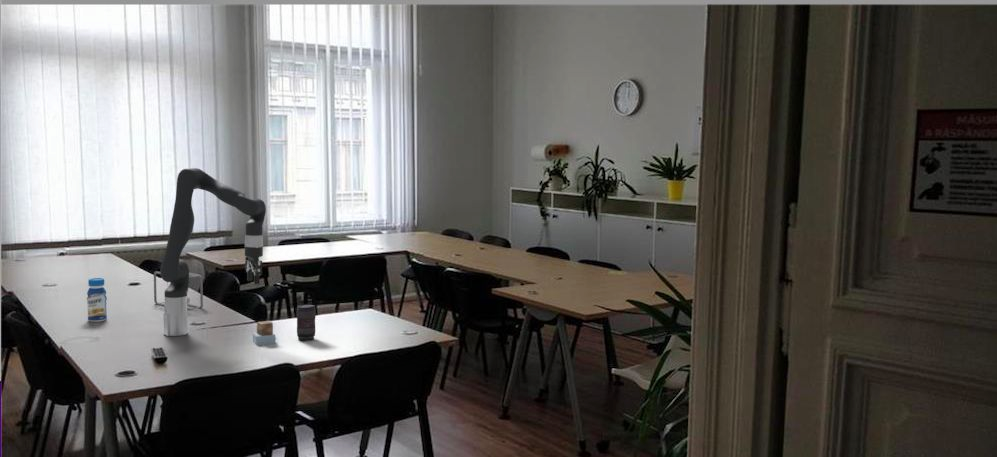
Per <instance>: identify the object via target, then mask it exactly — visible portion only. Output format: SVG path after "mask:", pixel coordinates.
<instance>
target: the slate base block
mask: <svg viewBox="0 0 997 457" xmlns="http://www.w3.org/2000/svg"><path fill="white" fill-rule="evenodd" d="M252 342H253V343H254V345H256V346H261V345H272V344H276V333H274V332H273V334H271V335H263V336H261V335H259V334H257V331H255V332H252Z"/></svg>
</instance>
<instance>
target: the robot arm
mask: <svg viewBox="0 0 997 457" xmlns="http://www.w3.org/2000/svg"><path fill="white" fill-rule="evenodd" d="M198 189H199V190H203V191H206V192H209V193H211V194H212V195H214V196H215V197H216V198H217V199H218V200H220V201H221V202H223V203H225V204H226V205H229V206H232V207H233V208H236V210H238V211H239V212H241V213H242V214H245V215H246V216H249V220H248V221H247V222H246V223H245V235H244V258H245V261H244V262H245V264H244V269H245V271H246V274H247V275H246V276H247V277H246V281H247V282H252V281H253V284H254V285H260V276H261V275H263V261H262V260H260V257H263V255H264V254H263V253H264V238H263V236H264V235H263V232H264V231H263V230H264V229H263V228H264V227H263V225H264V221H265V219H266V218H265V216H266V212H267V207H266V204H265V202H264V201H263V200H262V199H260V198H254V199H253V198H248V197H247V196H246V195H245V193H243V192H241V191H240V190H237V189H235V188H233V187H231V186H228V185H226V184H224V183H222V182H220V181H219V180H217V179H216V178H214V177H212V176H211V175H209V174H208V173H206V172H205V171H203V170H202V169H200V168H195V167H190V168H189V167H186V168H183V169H181V170H180V171H179V172H178V175H177V178H176V188H175V190H176V191H175V199H174V200H175V201H174V206H173V212H172V217H171V222H170V228H169V233H168V234H169V235H168V238H167V242H166V248H165V252H164V255H163V258H162V262H161V265H160V270H159V272H160V274H159V275H160V278H161V279H162V281H164V282H166V283H167V282H168V283H169V284H168V286H167V288H165V290H164V302H165V303H164V304H165V306H164V312H163V334H164V335H165V336H166V337H179V336H185V335H187V334H188V331H189V330H188V310H187V309H188V306H187V297H188V293H187V291H188V292H189V287H190V286H189V284H190V280H189V278H190V275H189V273H190V268H189V265H188V263H187V262H186V261H185V260H183V259H181V258H180V257H181V255H182V253H183V250H184V248H185V246H186V245H187V243H189V240H190V239H191V236H192V234H193V229H194V224H195V214H194V211H193V207H192V206H193V205H192V199H193V196H194V195H193V194H194V190H198ZM170 282H171V283H170Z"/></svg>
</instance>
